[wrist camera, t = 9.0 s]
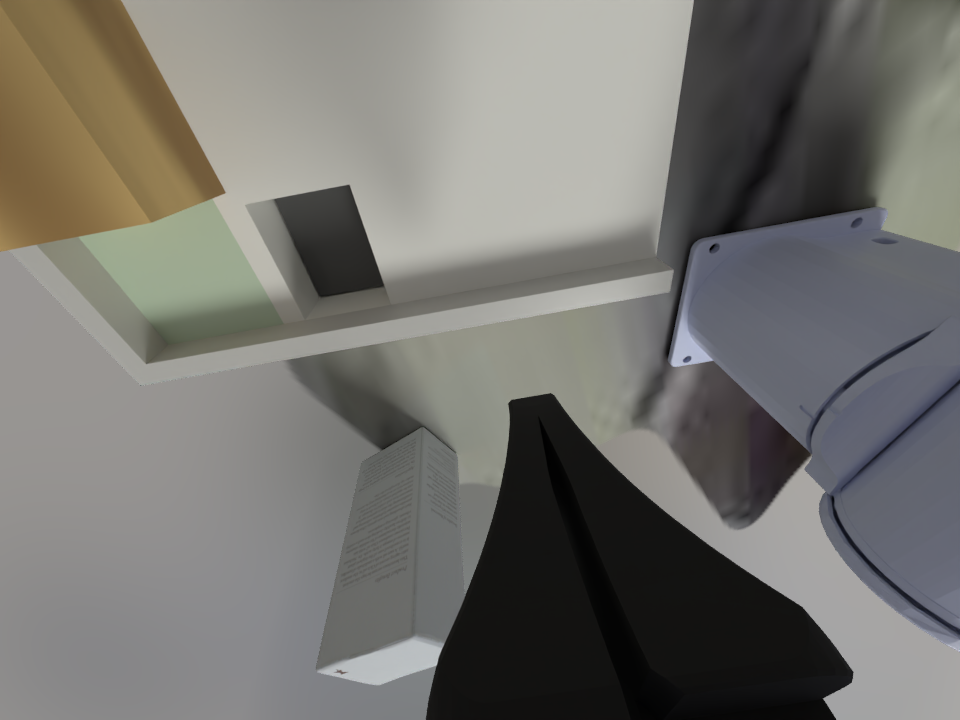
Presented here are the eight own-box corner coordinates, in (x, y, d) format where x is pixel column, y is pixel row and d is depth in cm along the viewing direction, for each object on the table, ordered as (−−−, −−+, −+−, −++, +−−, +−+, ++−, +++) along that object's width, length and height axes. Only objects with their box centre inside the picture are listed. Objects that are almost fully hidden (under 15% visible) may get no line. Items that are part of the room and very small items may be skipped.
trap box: (712, -557, 7) (918, -1068, 4) (629, 258, 18) (669, 291, 15) (-305, -307, 8) (-802, -580, 5) (193, 337, 19) (140, 385, 16)
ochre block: (121, 0, 10) (-39, -52, 7) (226, 193, 13) (151, 222, 9) (-48, 35, 10) (-285, 2, 7) (94, 218, 13) (-23, 256, 10)
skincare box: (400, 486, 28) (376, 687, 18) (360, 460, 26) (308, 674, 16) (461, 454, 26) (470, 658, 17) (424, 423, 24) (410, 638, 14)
